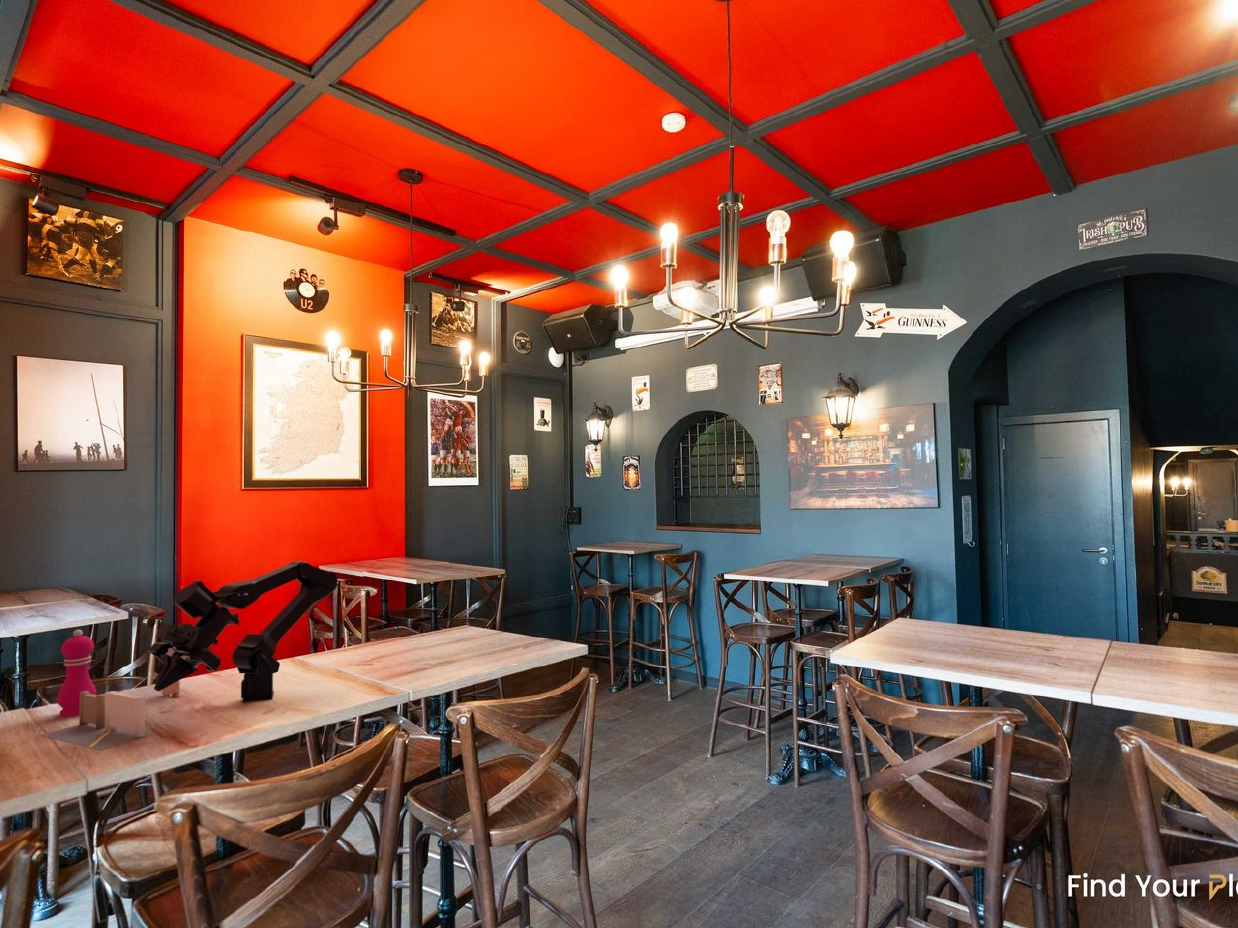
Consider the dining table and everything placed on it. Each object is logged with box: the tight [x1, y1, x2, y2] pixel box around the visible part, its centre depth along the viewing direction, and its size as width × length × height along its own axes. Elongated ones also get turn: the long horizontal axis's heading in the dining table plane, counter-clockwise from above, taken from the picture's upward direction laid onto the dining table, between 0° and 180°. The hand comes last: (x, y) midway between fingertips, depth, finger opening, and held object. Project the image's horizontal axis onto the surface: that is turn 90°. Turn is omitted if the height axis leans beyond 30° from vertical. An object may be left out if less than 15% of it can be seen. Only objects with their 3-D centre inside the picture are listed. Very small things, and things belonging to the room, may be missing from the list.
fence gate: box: [104, 690, 146, 738], centre depth 141 cm, size 12×2×8 cm, turn 64°
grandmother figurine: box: [151, 646, 182, 699], centre depth 171 cm, size 8×4×13 cm, turn 149°
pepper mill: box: [56, 629, 97, 718], centre depth 157 cm, size 7×7×20 cm
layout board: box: [41, 691, 155, 751], centre depth 141 cm, size 23×10×8 cm, turn 64°
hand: (156, 690), depth 146 cm, fingers closed
